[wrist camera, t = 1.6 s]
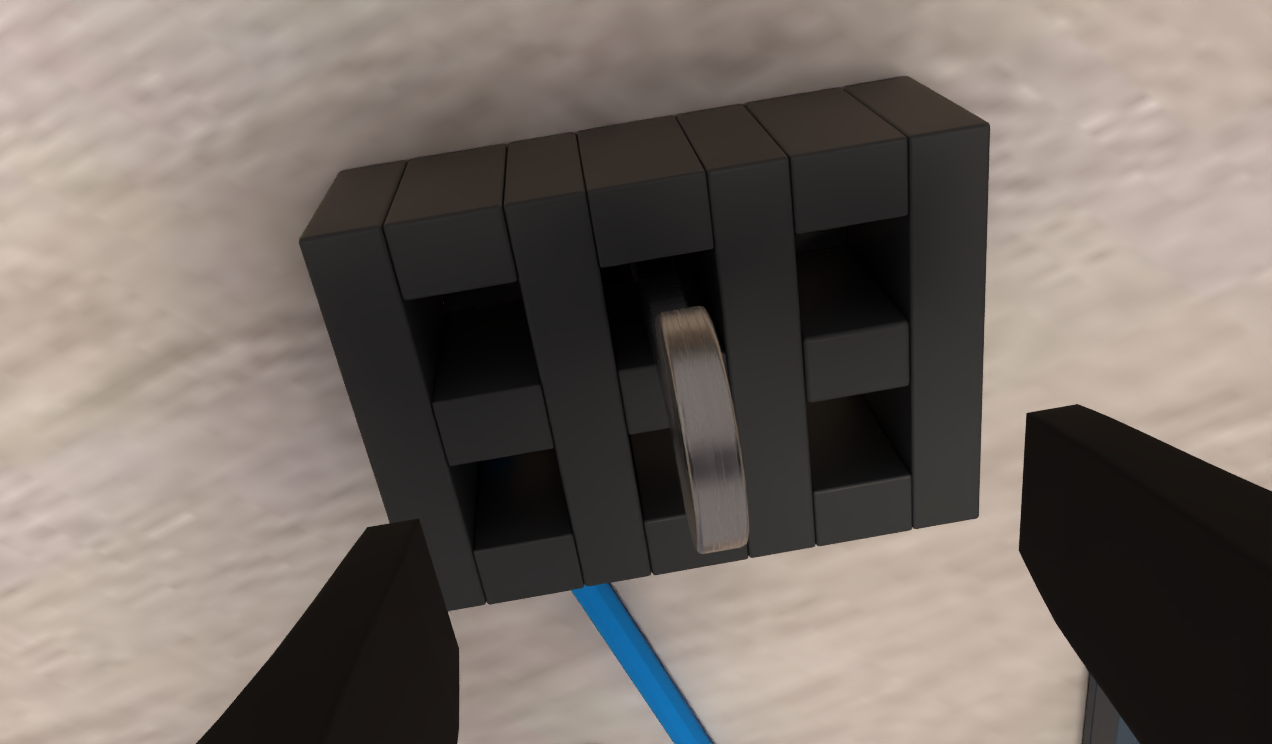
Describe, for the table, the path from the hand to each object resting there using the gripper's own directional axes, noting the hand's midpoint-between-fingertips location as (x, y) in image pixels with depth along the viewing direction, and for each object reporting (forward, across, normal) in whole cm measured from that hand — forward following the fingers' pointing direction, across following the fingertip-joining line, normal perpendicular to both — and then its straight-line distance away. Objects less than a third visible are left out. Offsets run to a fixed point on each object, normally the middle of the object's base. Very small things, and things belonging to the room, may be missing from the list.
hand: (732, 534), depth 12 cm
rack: (+10, 0, +2) cm, 11 cm away
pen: (+11, +2, +12) cm, 16 cm away
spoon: (+10, 0, 0) cm, 10 cm away
